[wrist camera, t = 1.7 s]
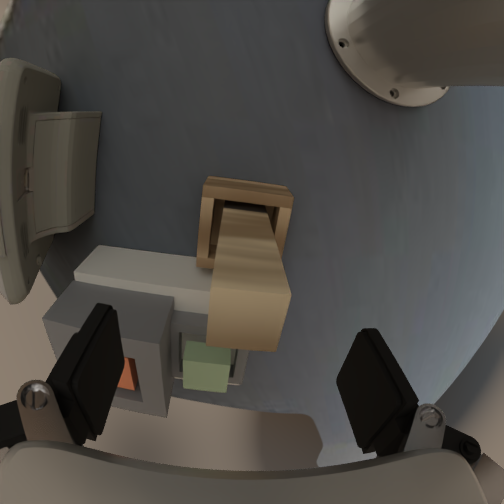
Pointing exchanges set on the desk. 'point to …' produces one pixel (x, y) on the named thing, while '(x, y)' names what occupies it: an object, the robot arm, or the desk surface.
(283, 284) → the tall wooden block
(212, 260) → the holder
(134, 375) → the plunger
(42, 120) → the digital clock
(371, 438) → the robot arm
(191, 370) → the on button
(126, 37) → the desk surface
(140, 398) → the push button control box
